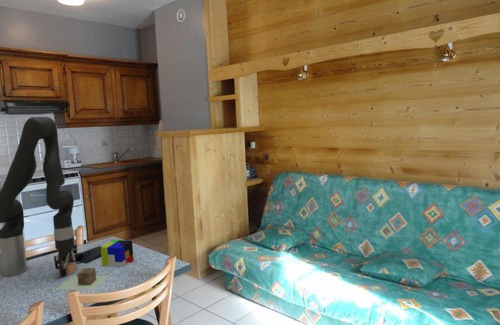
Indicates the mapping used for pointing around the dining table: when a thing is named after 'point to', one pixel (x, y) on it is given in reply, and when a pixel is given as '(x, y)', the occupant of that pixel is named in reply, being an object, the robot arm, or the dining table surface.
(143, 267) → the dining table surface
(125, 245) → the puzzle toy
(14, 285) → the dining table surface
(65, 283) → the build board
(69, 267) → the terracotta block
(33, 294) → the dining table surface
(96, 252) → the dark slate chunk
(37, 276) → the dining table surface
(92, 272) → the walnut block
